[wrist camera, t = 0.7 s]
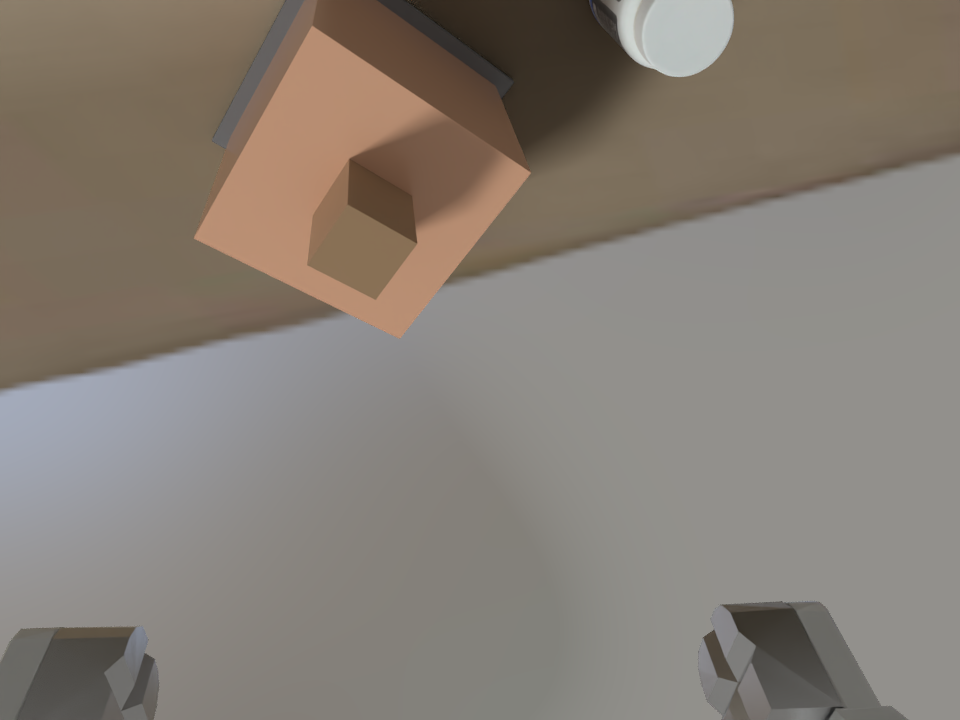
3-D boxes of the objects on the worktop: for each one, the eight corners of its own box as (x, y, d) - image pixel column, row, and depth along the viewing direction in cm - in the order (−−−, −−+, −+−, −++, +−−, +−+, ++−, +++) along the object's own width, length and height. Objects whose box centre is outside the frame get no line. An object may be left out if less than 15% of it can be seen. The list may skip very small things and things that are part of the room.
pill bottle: (668, 33, 39) (728, 86, 33) (581, 34, 39) (625, 88, 32) (686, -69, 36) (757, -33, 30) (593, -70, 36) (643, -33, 29)
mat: (213, 137, 40) (211, 141, 39) (319, -63, 34) (318, -61, 34) (396, 239, 45) (396, 243, 44) (512, 79, 40) (513, 82, 39)
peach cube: (229, 137, 39) (174, 291, 28) (324, -38, 35) (305, 60, 23) (392, 229, 44) (402, 393, 32) (495, 85, 39) (549, 218, 28)
